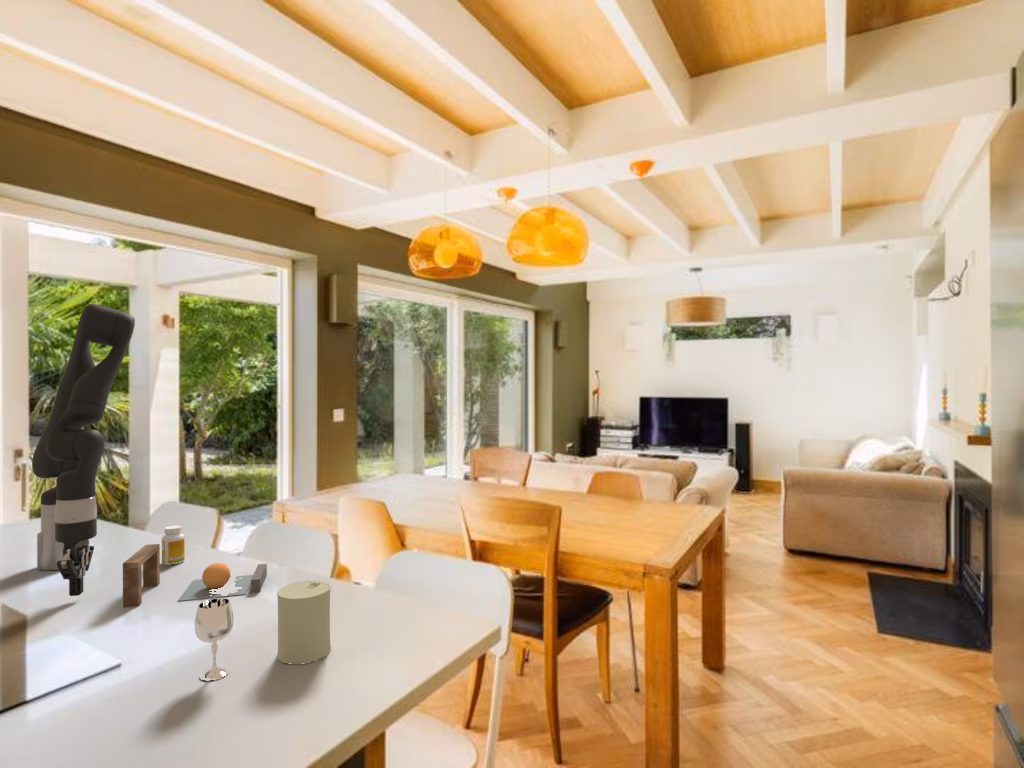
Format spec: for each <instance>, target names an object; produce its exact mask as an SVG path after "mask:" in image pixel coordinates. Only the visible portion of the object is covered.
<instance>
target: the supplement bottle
mask: <svg viewBox="0 0 1024 768" xmlns="http://www.w3.org/2000/svg"><path fill="white" fill-rule="evenodd" d="M182 529H183V528H182V525H170V526H166V527H164V534H165V535H163V536H162V537H161V564H162V565H163V564H165V565H164V566H172V565H171V564H175V565H178V563H179V564H182V563H183V562H184V561H185V560H186V559H185V556H186V555H185V552H186V551H185V549H186V547H185V543H186V542H185V535H184V534H183V533H182ZM181 562H182V563H181Z"/></svg>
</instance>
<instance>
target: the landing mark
mask: <svg viewBox="0 0 1024 768" xmlns="http://www.w3.org/2000/svg"><path fill="white" fill-rule="evenodd" d="M235 576H236V578H235V579H238V580H236V581H234V582H235V583H236V584H235V587H242V589H238V590H236V591H238V592H235V593H229V594H228V595H227V596H228V597H234V596H233V595H239V596H246V595H247V593H248V591H247V590H249V588H250V587H251V579H252V576H253V574H245V575H235ZM239 578H242V579H239ZM209 590H211V589H210V588H208V587H206V586H205V585H204V583H203V581H202V578H201V579H193V580H192V581H191V582H190V583H189V585H188V587H186V589H185V591H184V592H183V593H182V594H181V596H180V597H179V598H178V600H177V602H187V601H196V600H205V599H204V598H208V599H214V598H213V597H218V598H222V597H221V596H222V595H221V594H211V593H209V592H212V591H209ZM214 592H216V591H214ZM246 592H247V593H246ZM210 595H212V596H210Z"/></svg>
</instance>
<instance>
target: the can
mask: <svg viewBox="0 0 1024 768" xmlns="http://www.w3.org/2000/svg"><path fill="white" fill-rule="evenodd" d="M276 596H277V640H278V641H277V655H276V659H277V660H278V659H279V660H280V661H282V662H285V663H291V664H301V665H303V664H302V663H307V664H309V663H308V662H311V663H313V662H312V661H315V660H317V661H319V659H320V660H321V658H322V659H324V658H325V657H327V654H330V652H331V650H332V645H331V585H330V584H329V583H328V582H325V581H320V580H304V581H299V582H294V583H290V584H288V585H284V586H283V587H281V588H280V589H279V590H277V594H276ZM279 660H278V661H279ZM280 661H279V662H280ZM282 662H281V663H282ZM315 662H316V661H315Z"/></svg>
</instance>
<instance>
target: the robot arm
mask: <svg viewBox="0 0 1024 768" xmlns="http://www.w3.org/2000/svg"><path fill="white" fill-rule="evenodd" d="M135 321H136V319H135V317H134V315H133V314H131V313H129V312H125V311H122V310H118V309H114V308H111V307H107V306H105V305H99V304H96V303H90V304H89V303H88V304H87V305H86V306H85V307H84V308H83V310H82V312H81V314H80V317H79V319H78V323H77V327H76V331H75V336H74V338H73V343H72V347H71V351H70V356H69V358H68V361H67V363H66V367H65V370H64V372H63V375H62V378H61V380H60V383H59V385H58V388H57V392H56V395H55V398H54V402H53V405H52V408H51V412H50V415H49V417H48V421H47V423H46V426H45V428H44V430H43V432H42V433H41V436H40V438H39V440H38V442H37V445H36V447H35V449H34V452H33V455H32V459H31V468H32V472H33V474H34V475H35V476H36V477H38V478H40V479H52V478H54V479H55V478H56V482H55V486H53V487H52V488H50V489H47V490H45V491H44V492H42V493H41V495H40V532H38V533H37V535H36V570H37V571H39V570H43V571H58V570H59V573H60V575H61V576H62V578H63V580H68V593H69V594H68V596H69V597H76V596H77V597H78V596H81V594H83V593H84V577H85V576H86V572H89V568H90V565H91V561H92V557H93V555H94V550H95V546H94V545H90V540H91V539H94V538H95V537H96V536H97V535H98V514H97V512H98V510H97V509H98V506H97V499H96V478H97V473H98V469H99V467H100V466H99V465H100V462H101V459H102V456H103V455H104V451H105V446H106V441H105V438H104V436H103V434H102V433H101V432H100V431H99V430H96V429H90V428H89V429H85V428H84V429H82V428H83V427H86V426H89V425H93V424H97V423H98V422H101V420H102V419H103V417H104V414H105V410H106V407H107V403H108V399H109V395H110V391H111V389H112V387H113V383H114V381H115V378H116V377H117V374H118V372H119V370H120V368H121V366H122V362H123V361H124V358H125V355H126V353H127V350H128V348H129V345H130V343H131V340H132V336H133V333H134V330H135V325H136V324H135ZM90 342H92V343H96V344H101V345H104V346H109V347H111V350H110V351H109V353H108V354H107V356H105V357H104V359H102V360H101V361H100V362H99V363H97V364H95V361H94V360H93V356H92V353H91V346H90V344H91V343H90Z"/></svg>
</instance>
